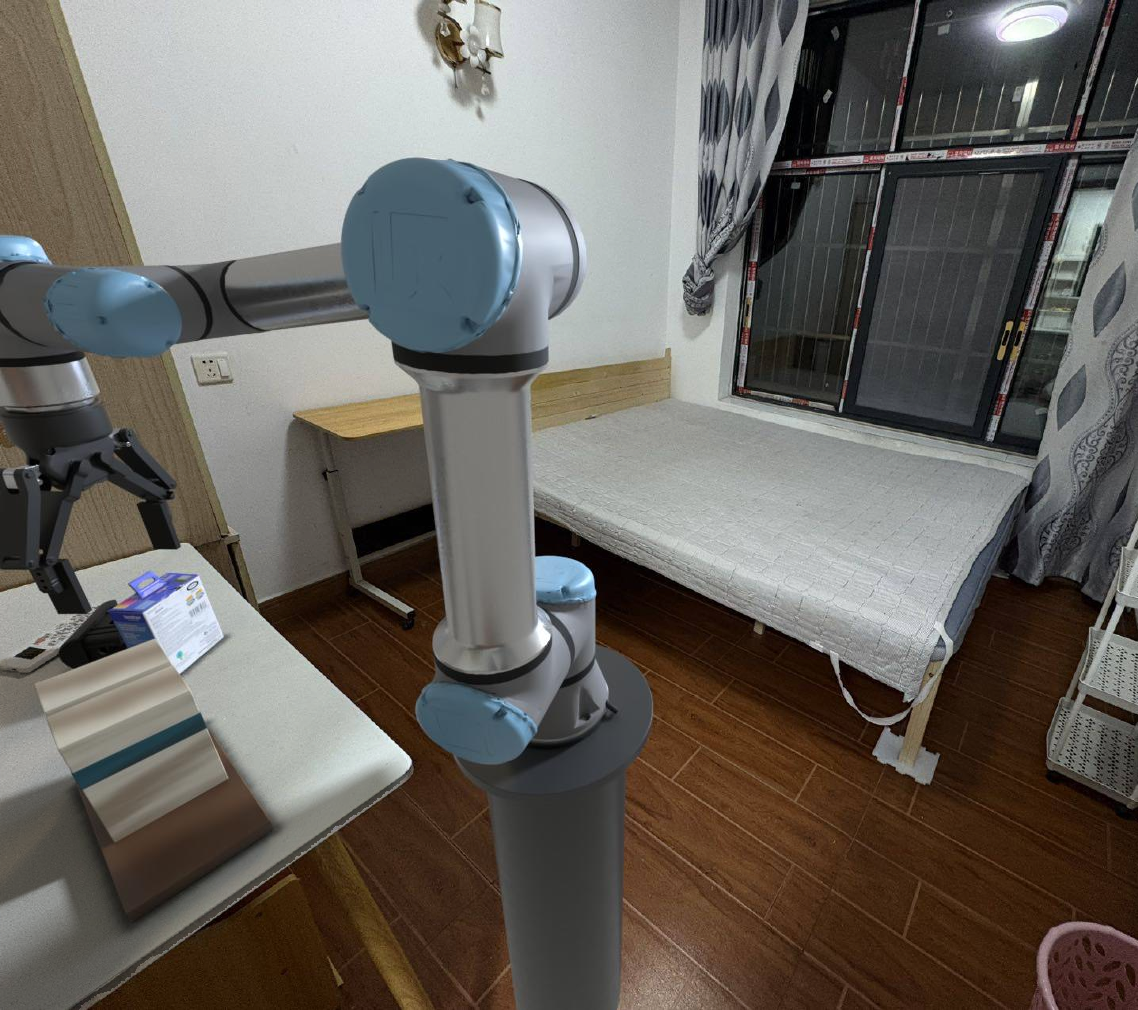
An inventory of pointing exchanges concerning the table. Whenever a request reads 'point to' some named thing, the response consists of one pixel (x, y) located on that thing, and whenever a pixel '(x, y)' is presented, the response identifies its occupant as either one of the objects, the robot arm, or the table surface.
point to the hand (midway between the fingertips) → (126, 577)
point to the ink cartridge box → (169, 617)
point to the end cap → (93, 639)
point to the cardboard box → (149, 774)
